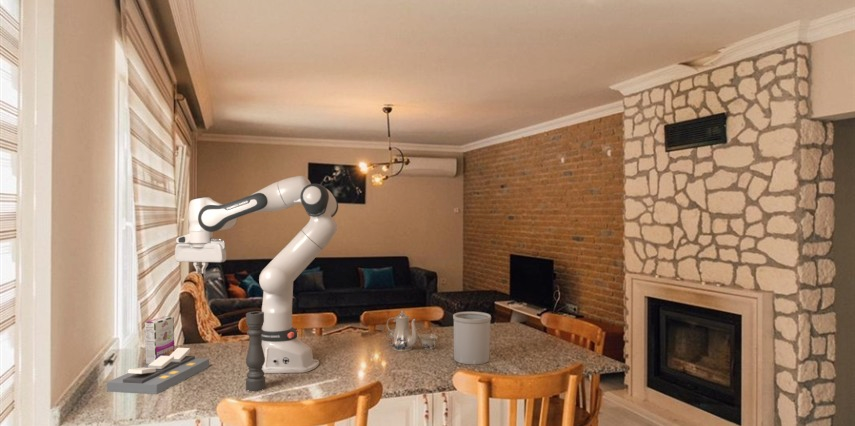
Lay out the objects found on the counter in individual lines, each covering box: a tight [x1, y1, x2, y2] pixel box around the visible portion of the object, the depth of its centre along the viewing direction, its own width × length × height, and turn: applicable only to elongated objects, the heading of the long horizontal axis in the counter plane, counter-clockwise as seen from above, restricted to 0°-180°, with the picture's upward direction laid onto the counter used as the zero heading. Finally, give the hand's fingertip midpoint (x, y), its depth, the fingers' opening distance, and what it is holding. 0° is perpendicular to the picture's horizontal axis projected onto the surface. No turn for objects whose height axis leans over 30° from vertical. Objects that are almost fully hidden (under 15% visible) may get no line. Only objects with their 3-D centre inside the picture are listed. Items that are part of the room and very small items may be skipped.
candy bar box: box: [144, 316, 176, 365], centre depth 212 cm, size 11×5×16 cm, turn 168°
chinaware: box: [385, 310, 440, 352], centre depth 231 cm, size 28×17×17 cm, turn 58°
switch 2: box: [147, 356, 174, 369], centre depth 190 cm, size 5×7×1 cm
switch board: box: [106, 355, 210, 395], centre depth 190 cm, size 18×30×4 cm, turn 171°
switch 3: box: [170, 347, 191, 362], centre depth 200 cm, size 5×7×1 cm
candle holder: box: [245, 310, 266, 392], centre depth 179 cm, size 6×6×25 cm
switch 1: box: [127, 367, 156, 374], centre depth 180 cm, size 5×7×1 cm
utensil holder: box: [452, 311, 492, 365], centre depth 211 cm, size 15×15×18 cm
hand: (200, 273), depth 212 cm, fingers closed
